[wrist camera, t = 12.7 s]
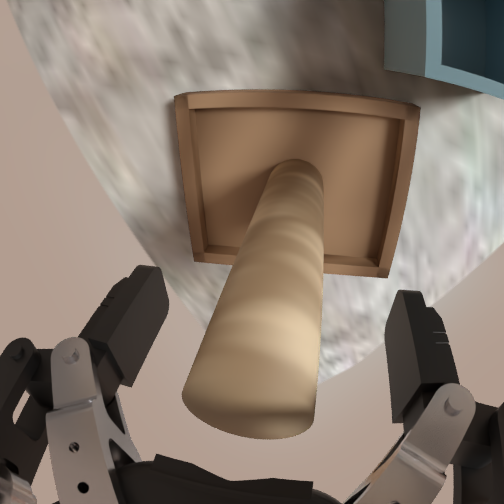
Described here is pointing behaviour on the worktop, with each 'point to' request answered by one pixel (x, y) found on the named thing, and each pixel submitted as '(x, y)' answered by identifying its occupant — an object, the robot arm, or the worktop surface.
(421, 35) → the blue open box
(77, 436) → the robot arm
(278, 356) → the dowel
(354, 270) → the tray
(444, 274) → the worktop surface
